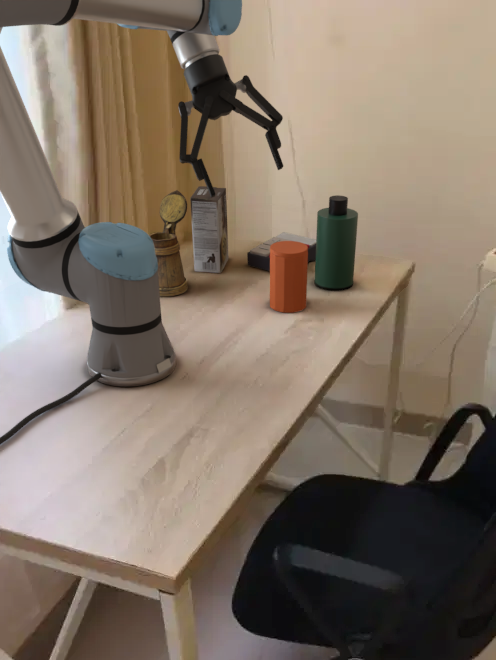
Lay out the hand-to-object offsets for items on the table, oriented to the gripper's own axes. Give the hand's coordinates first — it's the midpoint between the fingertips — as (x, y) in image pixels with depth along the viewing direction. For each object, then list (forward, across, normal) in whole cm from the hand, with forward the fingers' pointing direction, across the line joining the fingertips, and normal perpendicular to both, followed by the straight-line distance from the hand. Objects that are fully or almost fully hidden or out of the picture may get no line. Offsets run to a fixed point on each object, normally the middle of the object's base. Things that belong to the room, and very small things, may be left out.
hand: (247, 182), depth 139 cm
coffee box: (+10, +10, -31) cm, 34 cm away
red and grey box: (+15, -6, -32) cm, 36 cm away
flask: (+24, -12, -18) cm, 33 cm away
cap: (+24, 0, -9) cm, 25 cm away
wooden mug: (+11, +20, -21) cm, 31 cm away
